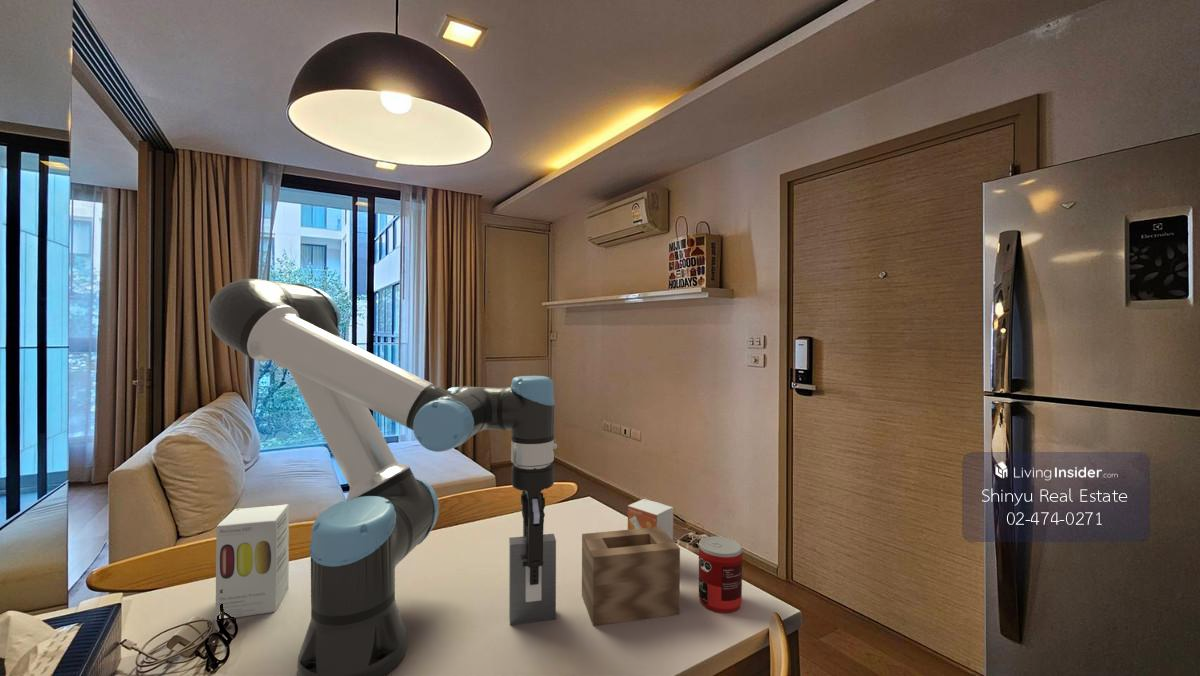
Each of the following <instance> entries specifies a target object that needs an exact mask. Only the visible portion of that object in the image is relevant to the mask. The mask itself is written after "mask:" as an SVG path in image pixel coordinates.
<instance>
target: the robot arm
mask: <svg viewBox="0 0 1200 676" xmlns="http://www.w3.org/2000/svg"><path fill="white" fill-rule="evenodd" d="M337 304H338V303H336V301H335V300H334V299H333V298H332V297H331V296H330V294H328V293H326V292H325V291H323V290H322V289H319V288H316V287H312V286H310V285H308V284H304V283H287V282H286V283H285V282H280V281H274V280H267V279H266V280H265V279H260V278H243V279H238V280H235V281H232V282H229V283H228V284H226V285H225V286H222V287H221V288H220V289H219V290H218V291H217V292H216V293H215V294H214V295H213V298H212V299H211V300H210V303H209V307H208V312H207V313H208V315H207V316H208V322H209V326H210V327H211V330H212V331H213V333H214V334H215V336H216V337H217V338H218V339H219V340H220V341H222V342H223V343H224V344H225V345H227V346H228V347H230V348H232V349H234V350H235V351H237V352H239V353H240V354H243V355H244V356H247V357H249V358H251V359H253V360H255V361H258V362H268V361H273V364H274V365H275V366H276V367H277V368H278V367H279V368H282V369H284V370H287V371H289V373H290V375H291V377H292V378H293V379H292V380H293V381H294V382H295V384H296V386H297V388H298V390H299V392H300V395H301V396H302V398H303V400H304V402H305V403H306V405H307V407H308V410H309V412H310V413H311V416H312V417H313V419H314V420H315V423H316V424H317V426H318V429H319V431H320V432H321V435H322V436H323V438H324V439H325V441H326V442H325V443H327V446H328V448H329V450H330V451H331V453H332V456H333V457H334V460H335V461H336V463H337V465H338V467H339V468H340V470H341V472H342V474H343V477H344V478H345V480H346V482H347V484H348V486H349V491H348V494H347V496H346V499H345V501H339V502H338V503H336V504H333V505H331V506H329V507H328V508H326V509H325V510H323V511H322V512H321V513H319V515H317V517H316V519H315V520H314V522H313V524H312V527H311V536H310V541H309V547H308V550H309V555H310V605H311V608H310V609H311V610H310V611H311V612H310V622H309V625H308V627H307V630H306V632H305V636H304V638H303V642H302V644H301V646H300V647H301V648H300V650H299V654H298V657H297V676H386V675H388V674H390V672H391V671H392V670H394V669H395V668H396V667H397V666H399V664H400V663H401V662H402V660H403V658H404V656H405V655H406V652H407V647H408V646H407V643H408V641H407V639H408V638H407V637H408V636H407V635H408V633H407V630H406V629H407V628H406V626H405V623H404V620H403V618H402V615H401V613H400V610H399V607H398V604H397V601H396V590H395V589H396V567H397V565H398V564H399V563H400V562H401V561H402V560H404V559H405V557H406V556H408V555H409V554H410V553H411V552H412V551H413V550H414V549H415V548H416V547H417V546H418V545H420V544H421V543H423V541H425V540H426V538H427V537H428V536H429V534H430V532H431V531H432V530H433V529H434V527H435V525H436V524H437V520H438V517H439V513H440V503H439V499H438V495H437V493H436V492H435V489H434V488H433V487H432V486H431V485H430V483H428V482H427V481H425V480H421V478H418V477H415V475H414V473H413V471H412V469H411V467H410V466H409V465H407V464H402V463H399V462H397V460H396V458H395V457H394V456H395V455H394V454H393V452H392V451H391V449H390V447H389V444H388V443H387V440H386V439H385V437H384V435H383V434H382V433H383V432H381V430H380V428H379V426H378V424H377V422H376V420H375V418H374V417H373V415H372V412H371V411H373V412H376V413H377V414H379V415H381V416H383V417H385V418H388V419H389V420H391V421H393V422H395V423H397V424H399V425H401V426H404V427H405V428H407V429H409V430H412V431H413V434H414V437H415V438H416V440H417V442H418V443H419V444H420V445H421V446H422V447H423V448H425V449H426V450H429V451H432V452H436V453H439V452H446V451H449V450H452V449H455V448H458V447H460V446H462V445H463V444H465V443H466V442H467V441H468V440H469V439H470V438H471V437H473V436H475V435H477V434H478V433H480V432H481V431H484V430H487V431H488V430H489V431H490V430H493V431H494V430H495V431H496V430H500V431H507V430H509V431H511V440H510V441H511V442H510V443H511V445H510V462H511V463H512V466H511V475H510V476H511V480H510V481H511V483H510V484H511V487H513V489H516V490H518V491H521V494H520V503H521V513H522V514H521V516H522V524H523V525H522V528H523V529H522V531H523V532H522V536H527V561H526V562H522V563H523V567H525V566H526V581H525V600H526V602H531V601H540V600H541V571H542V566H543V535H544V526H545V525H544V523H545V516H546V514H545V512H544V511H545V510H544V509H545V507H546V497H544V493H543V492H542V491H544V490H547V489H550V488H551V487H552V486H553V485H554V483H555V465H554V464H553V462H554V460H555V458H554V457H555V452H554V450H556V449H557V448H558V444H557V443H554V442H555V411H556V410H555V407H556V405H555V404H556V401H555V393H554V392H555V387H554V381H553V379H552V378H550V377H548V376H545V375H520V376H515V377H513V378H512V380H511V384H510V386H508V387H491V386H490V387H488V386H485V387H484V386H470V385H465V386H455V387H452V386H451V387H450V388H448V389H444V388H442V387H440V386H438V385H435V384H434V383H432V382H431V381H428V380H426V379H424V378H422V377H420V376H418V375H415V374H414V373H411V372H410V371H407V370H406V369H403V368H402V367H399V366H398V365H395V364H393V363H391V362H389V361H388V360H386V359H383V358H381V357H379V356H378V355H376V354H373V353H371V352H369V351H367V350H366V349H363V348H361V347H359V346H357V345H354V344H353V343H351V342H349V341H346V340H345V339H343V338H342V336H341V334H340V332H339V331H340V328H341V327H340V323H341V322H342V317H341V312H340V309H339V307H338V305H337ZM370 410H371V411H370Z"/></svg>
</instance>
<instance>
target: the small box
mask: <svg viewBox="0 0 1200 676" xmlns="http://www.w3.org/2000/svg"><path fill="white" fill-rule="evenodd" d="M652 527H661V528H662V529H663V530H664V531H665V532H666V533H667V534H668V536H669V537H670V538H671V539H672V540H673V541H674V507H673V506H669V505H668V504H667V505H666V504H663V503H660V502H657V501H653V500H649V499H647V498H642V499H640V500H638V501H636V502H633V503H631V504H628V505H627V530H630V529H641V528H652Z"/></svg>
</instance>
